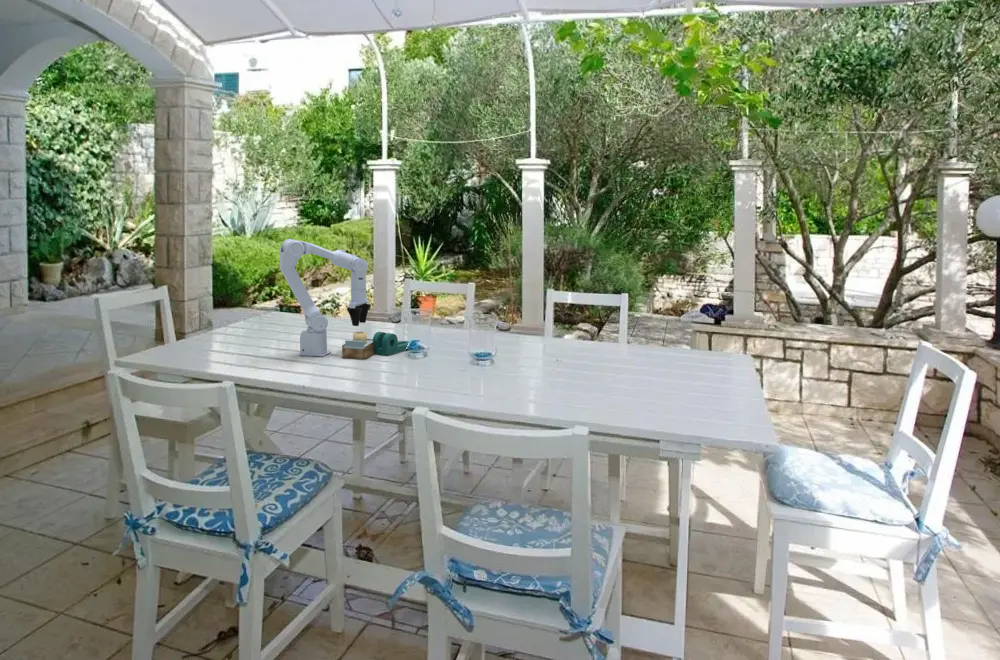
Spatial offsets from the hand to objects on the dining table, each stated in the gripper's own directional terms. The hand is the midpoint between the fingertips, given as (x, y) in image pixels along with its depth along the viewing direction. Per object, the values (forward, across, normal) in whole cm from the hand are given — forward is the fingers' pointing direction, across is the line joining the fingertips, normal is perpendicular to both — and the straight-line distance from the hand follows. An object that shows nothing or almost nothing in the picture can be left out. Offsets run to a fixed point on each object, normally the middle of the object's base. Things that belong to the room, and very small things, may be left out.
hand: (359, 324), depth 285 cm
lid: (+7, -8, -3) cm, 10 cm away
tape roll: (+6, -8, -3) cm, 10 cm away
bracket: (+10, +3, -13) cm, 17 cm away
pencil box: (+10, -7, -3) cm, 13 cm away
